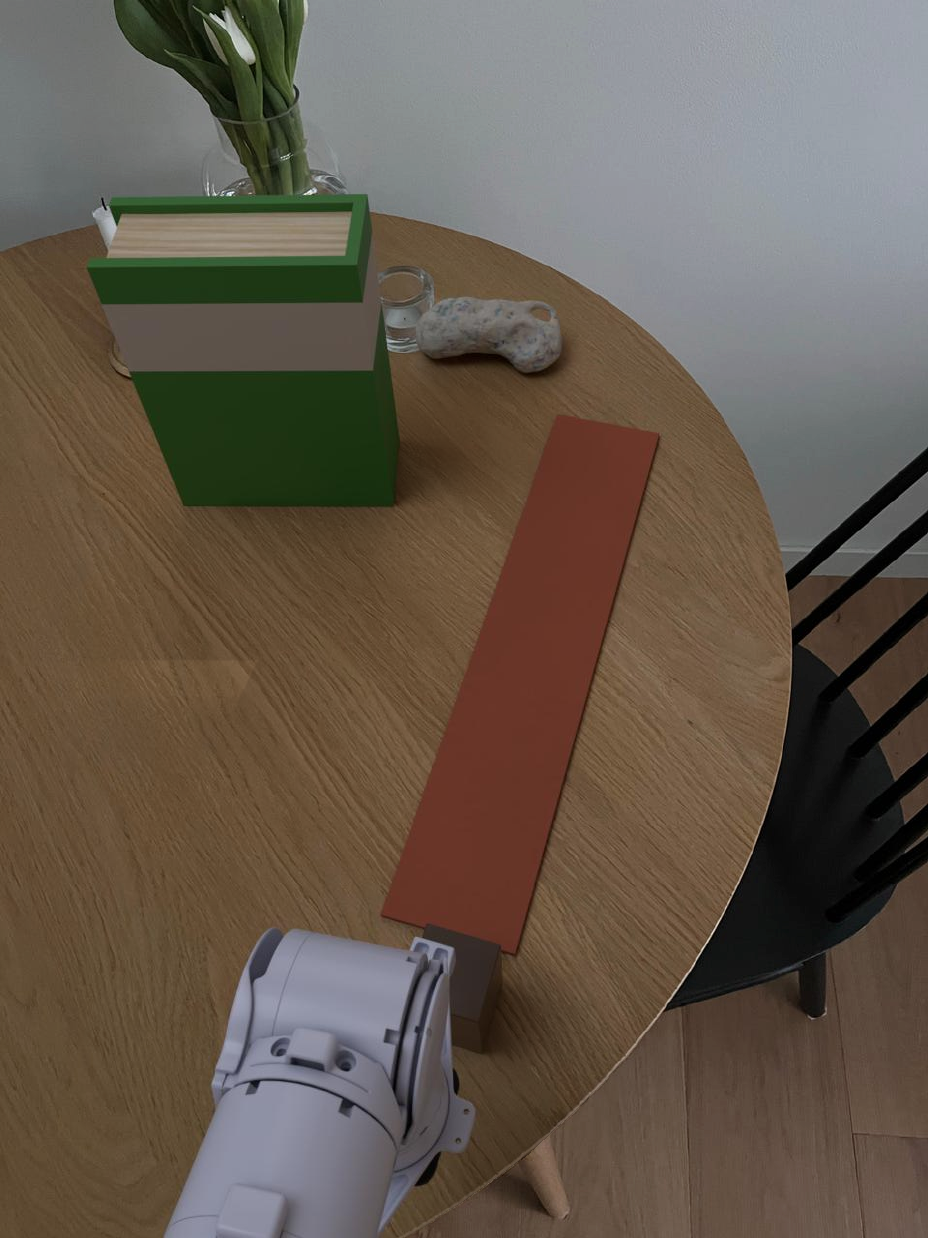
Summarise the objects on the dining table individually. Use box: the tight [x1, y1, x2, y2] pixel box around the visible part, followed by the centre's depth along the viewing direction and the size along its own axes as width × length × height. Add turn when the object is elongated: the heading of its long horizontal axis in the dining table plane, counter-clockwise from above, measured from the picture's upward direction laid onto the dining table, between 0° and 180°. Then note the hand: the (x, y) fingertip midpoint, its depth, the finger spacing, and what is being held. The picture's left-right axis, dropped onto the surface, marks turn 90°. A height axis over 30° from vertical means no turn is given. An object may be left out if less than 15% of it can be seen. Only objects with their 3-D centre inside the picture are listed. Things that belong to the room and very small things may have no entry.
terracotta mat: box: [380, 413, 660, 956], centre depth 79 cm, size 46×9×1 cm, turn 163°
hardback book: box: [86, 193, 401, 507], centre depth 80 cm, size 18×7×24 cm, turn 88°
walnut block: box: [421, 923, 503, 1055], centre depth 62 cm, size 4×4×8 cm
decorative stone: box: [414, 296, 563, 374], centre depth 95 cm, size 13×7×5 cm, turn 89°
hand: (402, 1132), depth 54 cm, fingers closed
